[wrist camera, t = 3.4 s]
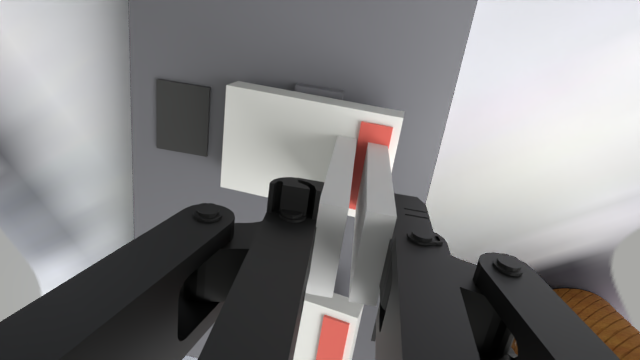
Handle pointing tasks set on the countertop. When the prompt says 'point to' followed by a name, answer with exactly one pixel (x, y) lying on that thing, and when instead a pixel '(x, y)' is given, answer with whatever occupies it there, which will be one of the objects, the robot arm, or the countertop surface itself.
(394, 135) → the rocker middle
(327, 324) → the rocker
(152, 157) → the power strip
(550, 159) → the countertop surface
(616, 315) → the disposable coffee cup
